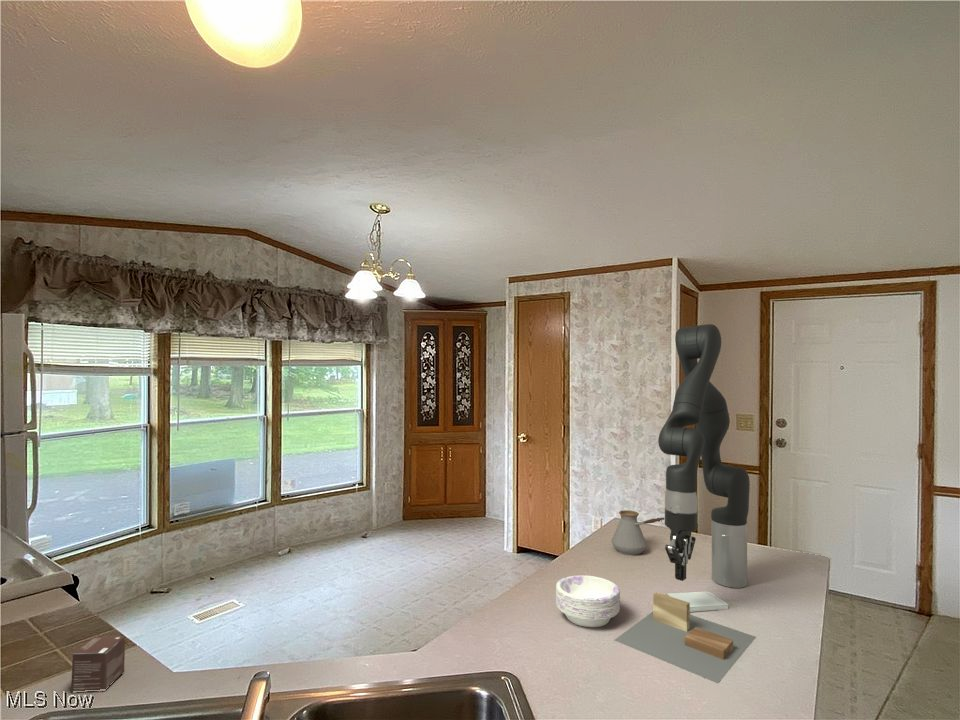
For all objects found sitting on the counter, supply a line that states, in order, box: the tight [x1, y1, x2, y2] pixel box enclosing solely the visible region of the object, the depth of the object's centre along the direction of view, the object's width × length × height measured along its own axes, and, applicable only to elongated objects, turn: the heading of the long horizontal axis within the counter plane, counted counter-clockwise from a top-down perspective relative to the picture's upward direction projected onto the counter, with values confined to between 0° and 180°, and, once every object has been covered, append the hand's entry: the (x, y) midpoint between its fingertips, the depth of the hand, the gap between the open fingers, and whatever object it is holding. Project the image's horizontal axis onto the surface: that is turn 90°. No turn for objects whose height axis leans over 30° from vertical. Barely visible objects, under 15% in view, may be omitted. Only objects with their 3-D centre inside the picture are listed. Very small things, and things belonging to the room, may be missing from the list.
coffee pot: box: [610, 509, 665, 556], centre depth 164 cm, size 21×12×15 cm, turn 27°
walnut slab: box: [685, 627, 733, 660], centre depth 108 cm, size 2×8×6 cm
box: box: [70, 635, 126, 693], centre depth 95 cm, size 6×6×7 cm
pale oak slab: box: [652, 591, 691, 632], centre depth 118 cm, size 2×8×6 cm, turn 45°
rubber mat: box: [614, 611, 757, 684], centre depth 111 cm, size 24×22×1 cm
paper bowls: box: [555, 574, 621, 628], centre depth 121 cm, size 15×15×8 cm
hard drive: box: [665, 591, 729, 613], centre depth 128 cm, size 2×8×12 cm
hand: (680, 579), depth 123 cm, fingers closed
